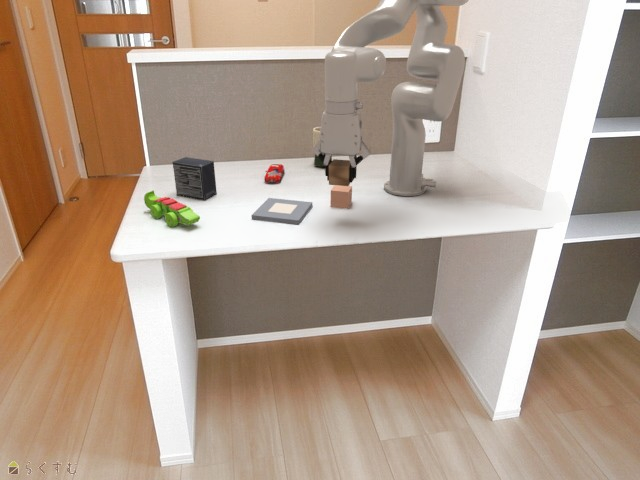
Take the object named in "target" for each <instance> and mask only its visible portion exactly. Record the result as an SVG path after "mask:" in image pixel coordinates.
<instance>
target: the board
mask: <svg viewBox="0 0 640 480" xmlns="http://www.w3.org/2000/svg"><path fill="white" fill-rule="evenodd" d="M312 208H313V202H312V201H304V200H294V199H293V200H292V199H283V198H275V197H274V198H273V197H268V198H267V199H266V200H264V202H263V203H262V204H261V205H260V206H259V207H258V208H257V209H256V210H255V211H254V212H253V213H252V214H251V220H256V221H261V222H263V221H264V222H271V223H272V222H273V223H283V224H290V225H300V224H301V222H302V221H303V220H304V218H305V217H306V216H307V214H308V213H309V212H310V210H311V209H312Z"/></svg>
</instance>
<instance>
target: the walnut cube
mask: <svg viewBox="0 0 640 480" xmlns="http://www.w3.org/2000/svg"><path fill="white" fill-rule="evenodd" d="M350 165H351V163H350V159H334V158H332V162H331V163H330V164H329V181H328V185H330V186H334V185H340V186H350V184H351V182H349V168H350Z"/></svg>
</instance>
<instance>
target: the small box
mask: <svg viewBox="0 0 640 480" xmlns="http://www.w3.org/2000/svg"><path fill="white" fill-rule="evenodd" d="M214 163H215V161H214V160H208V159H201V158H196V157H195V158H193V157H189V156H188V157H186V156H185V157H181V158H180V159H176V160H174V161H172V168H173V174H174V175H173V176H174V181H175V182H174V183H175V190H176V197H182V198H188V199H192V200H193V199H194V200H197V201H203V202H205V201H207V200H209V199H211V198H213V197H214V196H216V195H217V193H218V192H217V183H216V172H215V164H214Z"/></svg>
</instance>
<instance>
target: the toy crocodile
mask: <svg viewBox="0 0 640 480" xmlns="http://www.w3.org/2000/svg"><path fill="white" fill-rule="evenodd" d="M143 200H144V205H145V206H146V207H147V208H148V209H149V211H150V214H151V216H152V217H153V219H156V220H157V219H161V218H162V217H163V216H164V219H165V223H166V225H167V226H168V227H170V228H174V227H177V226H179V225H178V224H181V225H184V226H187V227H188V226H191V225H193V224H196V223H198V222H199V221H200V220H201V217H200V215H199V214H197V213H196V212H194V210H193V209H192V208H191V207H190V206H187V205H186V204H183V203H181V202H180V201H177V199H174V198H172V197H170V196H165V197H164V196H163V197H161V196H157V195H156V194H155V191H154V190H150V191H147V192H146V193H145V194H144V197H143Z"/></svg>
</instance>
